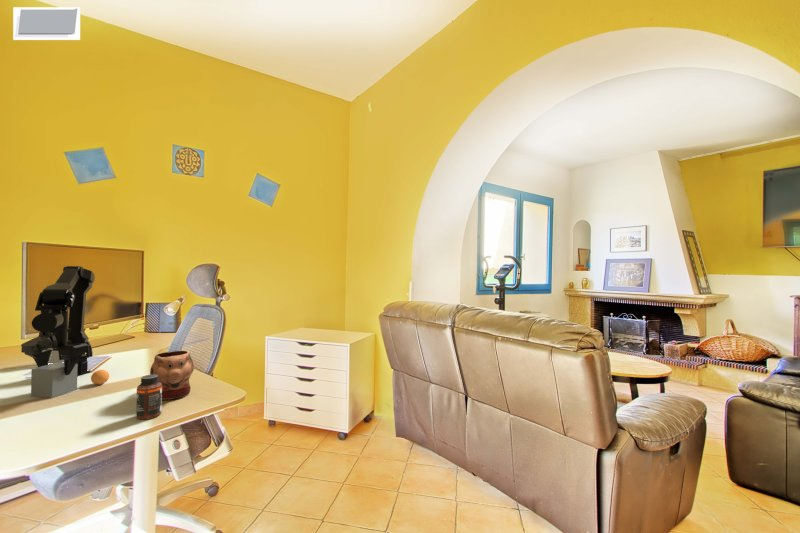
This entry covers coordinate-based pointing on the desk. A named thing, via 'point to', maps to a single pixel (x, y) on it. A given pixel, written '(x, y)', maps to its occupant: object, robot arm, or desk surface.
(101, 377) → the brown egg
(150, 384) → the supplement bottle
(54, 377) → the gray cube
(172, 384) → the decorative planter
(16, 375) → the desk surface
